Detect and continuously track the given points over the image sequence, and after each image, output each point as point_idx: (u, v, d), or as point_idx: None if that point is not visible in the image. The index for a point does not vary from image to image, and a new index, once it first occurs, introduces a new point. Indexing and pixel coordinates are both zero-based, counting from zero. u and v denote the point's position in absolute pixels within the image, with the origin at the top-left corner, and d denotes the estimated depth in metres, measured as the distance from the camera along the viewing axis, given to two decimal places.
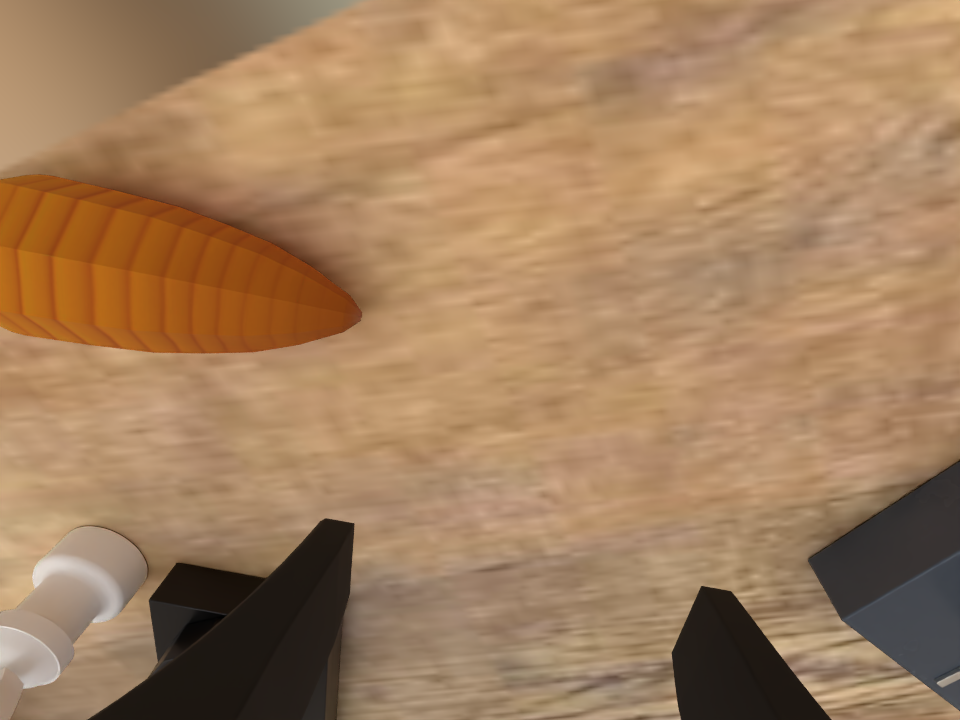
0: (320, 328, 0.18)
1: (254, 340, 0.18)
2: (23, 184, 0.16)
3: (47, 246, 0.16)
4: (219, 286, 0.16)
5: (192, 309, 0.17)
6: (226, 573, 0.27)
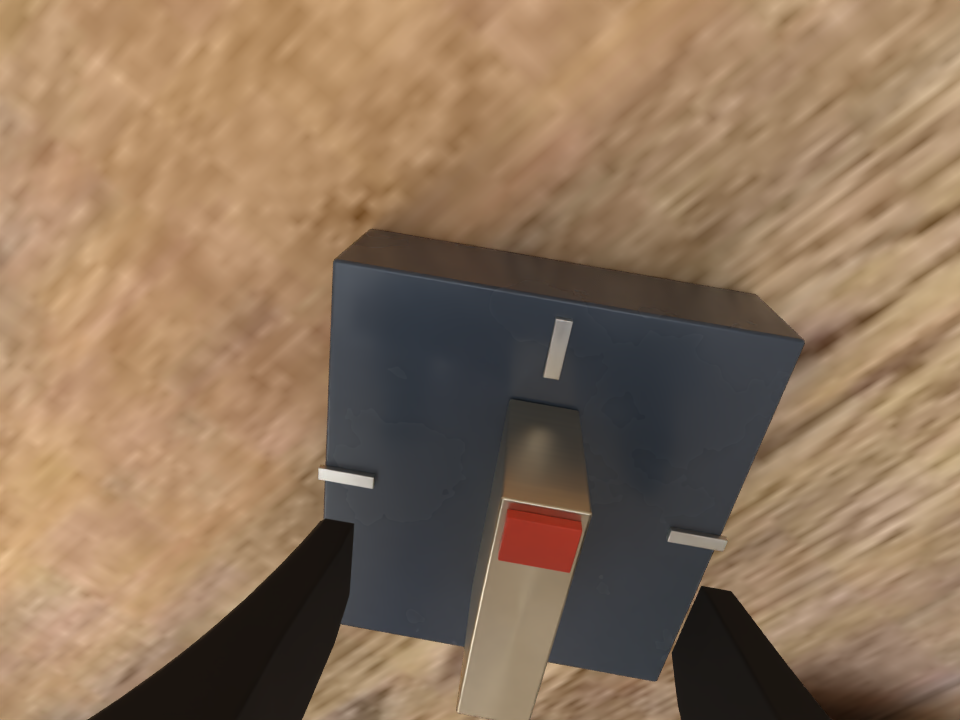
0: None
1: None
2: None
3: None
4: None
5: None
6: None
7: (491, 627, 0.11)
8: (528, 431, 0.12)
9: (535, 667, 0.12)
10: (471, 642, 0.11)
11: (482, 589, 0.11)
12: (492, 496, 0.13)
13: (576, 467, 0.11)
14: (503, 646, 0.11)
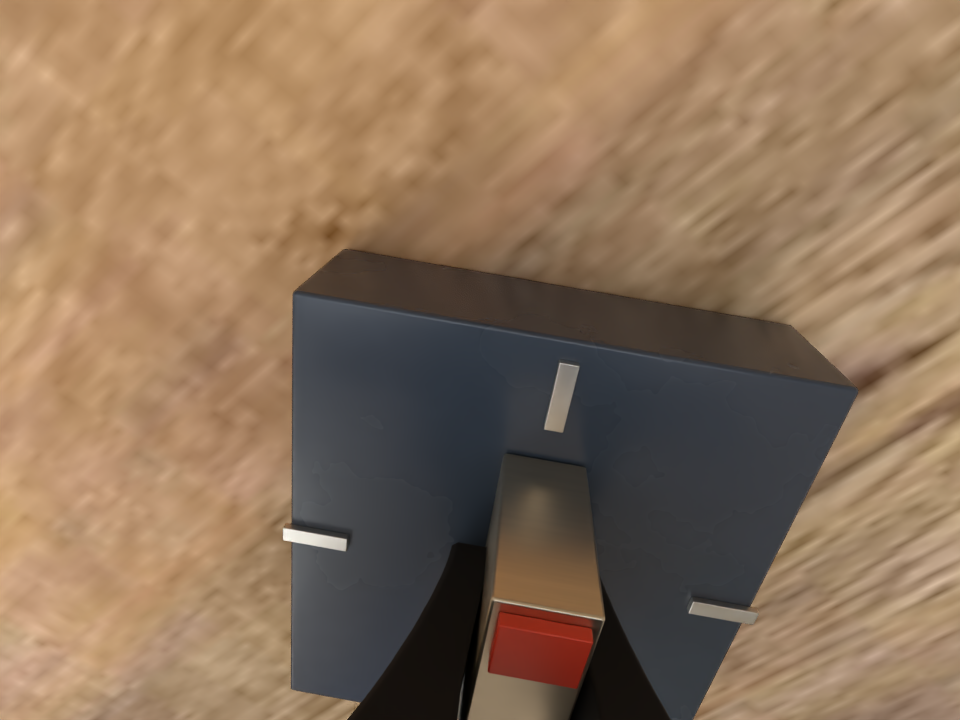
0: None
1: None
2: None
3: None
4: None
5: None
6: None
7: None
8: (526, 498, 0.10)
9: None
10: None
11: (469, 699, 0.09)
12: None
13: (584, 549, 0.09)
14: None
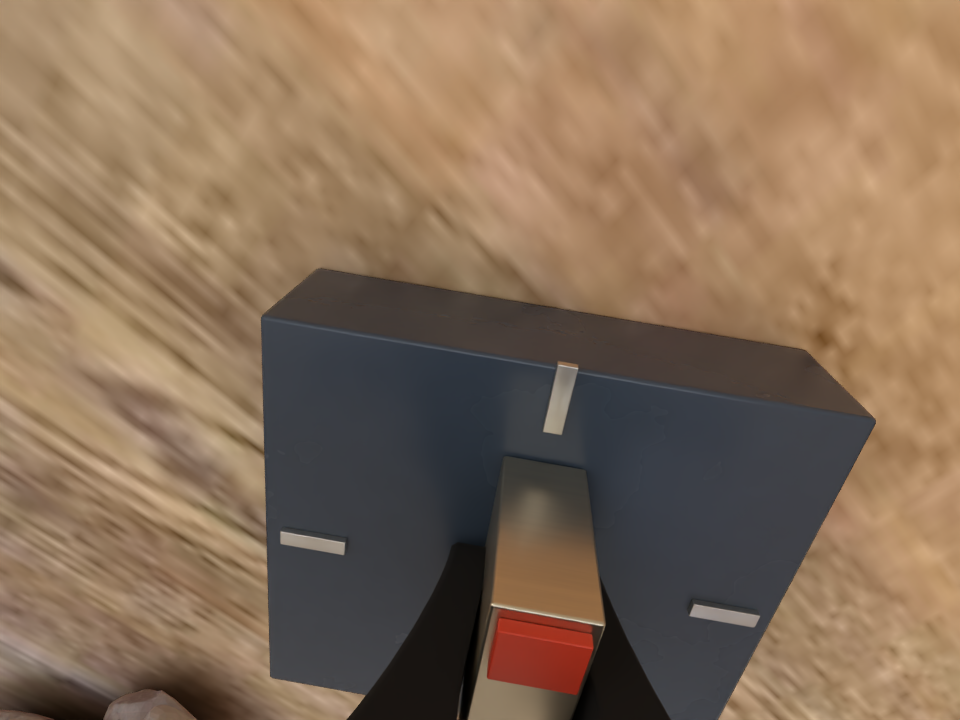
0: None
1: None
2: None
3: None
4: None
5: None
6: None
7: None
8: (525, 501, 0.10)
9: None
10: None
11: (468, 705, 0.09)
12: None
13: (584, 553, 0.09)
14: None
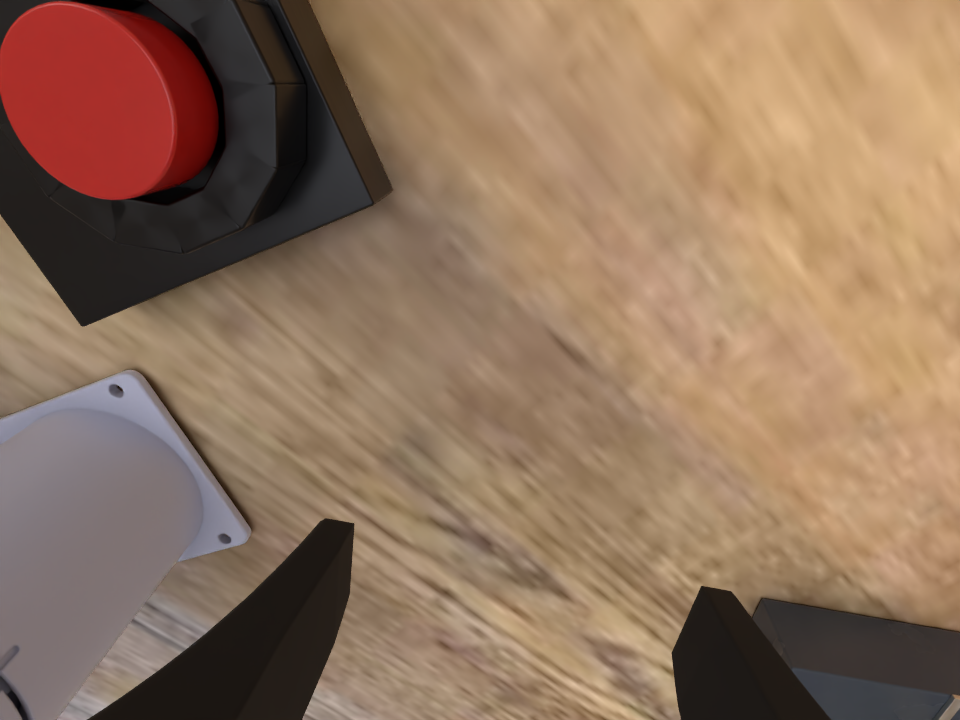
0: None
1: None
2: None
3: None
4: None
5: None
6: None
7: None
8: None
9: None
10: None
11: None
12: None
13: None
14: None
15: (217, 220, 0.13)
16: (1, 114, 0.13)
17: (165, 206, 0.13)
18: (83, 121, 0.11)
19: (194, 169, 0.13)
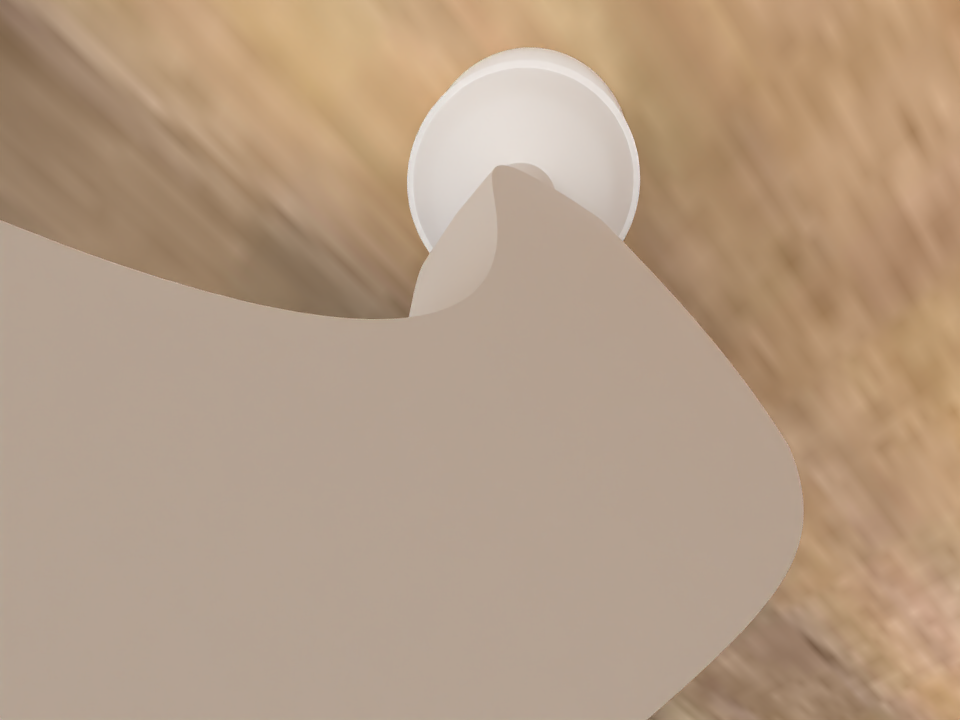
0: None
1: None
2: None
3: None
4: None
5: None
6: None
7: None
8: None
9: None
10: None
11: None
12: None
13: None
14: None
15: None
16: None
17: None
18: None
19: None
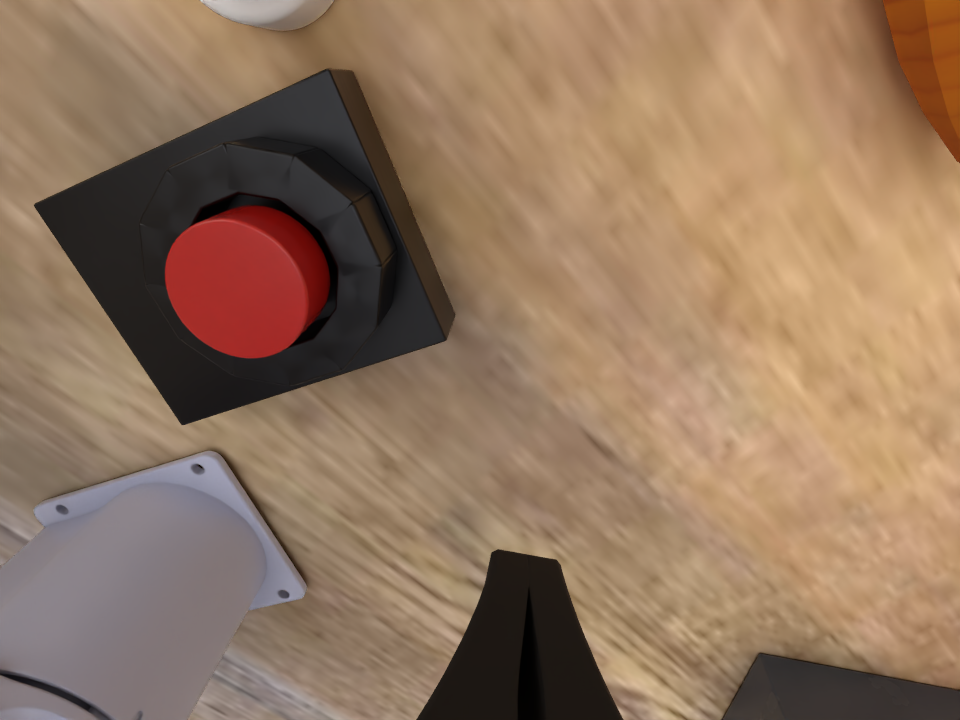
0: None
1: None
2: None
3: None
4: None
5: None
6: (387, 154, 0.17)
7: None
8: None
9: None
10: None
11: None
12: None
13: None
14: None
15: (322, 363, 0.16)
16: (148, 277, 0.16)
17: None
18: (231, 302, 0.14)
19: (308, 325, 0.16)
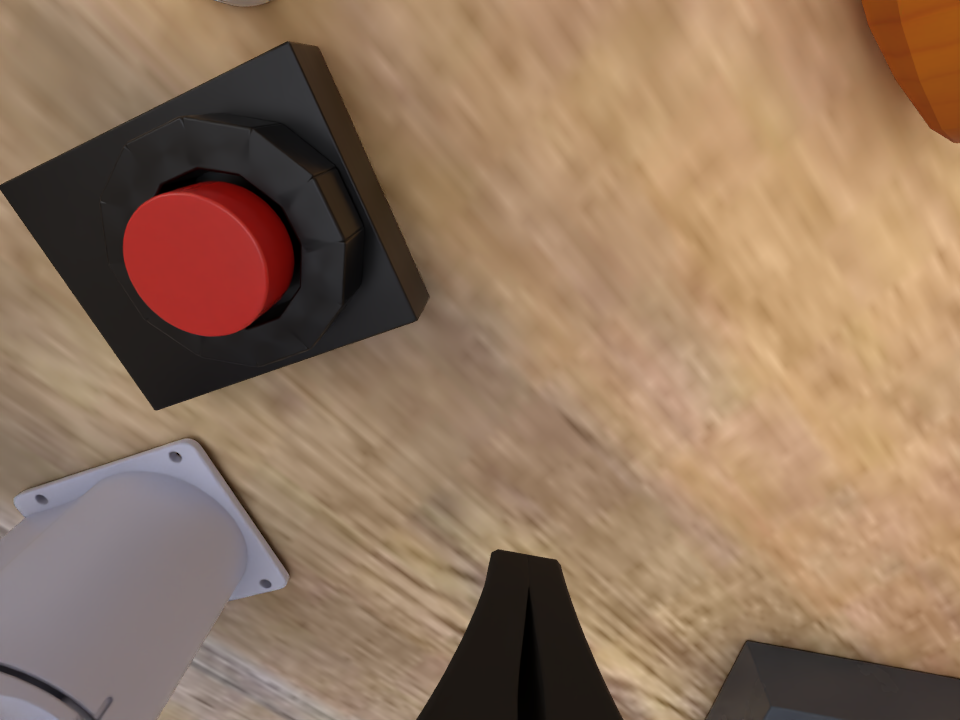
0: None
1: (955, 19, 0.12)
2: None
3: None
4: None
5: None
6: (355, 131, 0.17)
7: None
8: None
9: None
10: None
11: None
12: None
13: None
14: None
15: (289, 342, 0.16)
16: (111, 256, 0.15)
17: (245, 330, 0.16)
18: (191, 278, 0.14)
19: (273, 304, 0.15)
